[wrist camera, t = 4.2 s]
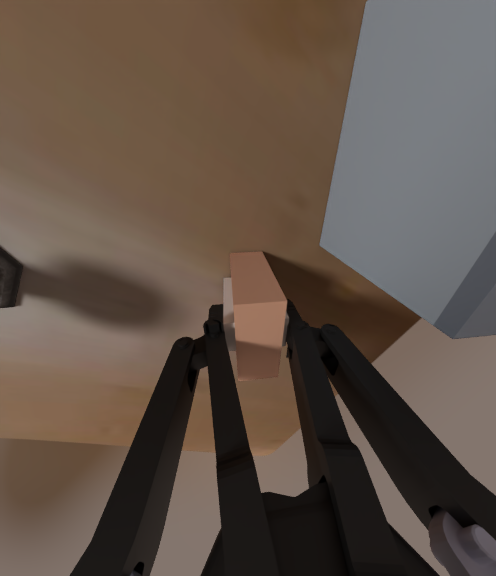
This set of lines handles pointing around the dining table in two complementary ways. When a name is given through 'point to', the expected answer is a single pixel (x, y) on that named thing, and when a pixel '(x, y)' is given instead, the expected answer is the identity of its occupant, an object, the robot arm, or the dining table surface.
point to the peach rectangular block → (256, 316)
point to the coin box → (422, 161)
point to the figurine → (9, 279)
